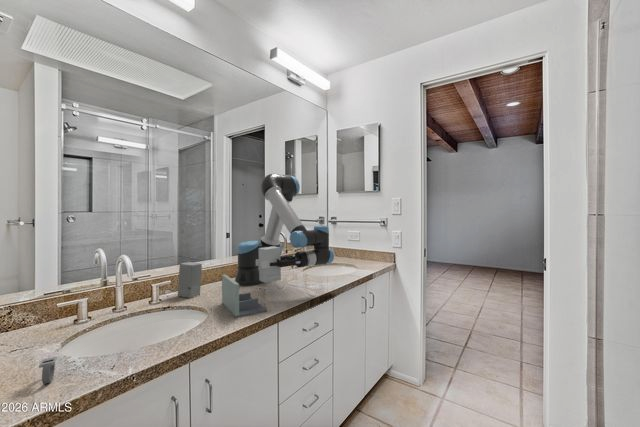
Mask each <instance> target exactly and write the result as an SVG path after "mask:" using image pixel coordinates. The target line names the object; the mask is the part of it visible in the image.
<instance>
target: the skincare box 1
mask: <svg viewBox="0 0 640 427" xmlns="http://www.w3.org/2000/svg"><path fill="white" fill-rule="evenodd" d="M178 268H179V270H178V285H177V297H178V296H182V297H181V298H185V297H187V299H192V298H191V297H193V298H195V297H194V296H196V297H198V296H197V295H199V296H200V295H201V289H202V288H201V286H202V283H201V282H202V268H203V264H202V263H201V262H200V263H199V262H192V261H187V262H182V263H179V266H178Z"/></svg>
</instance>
